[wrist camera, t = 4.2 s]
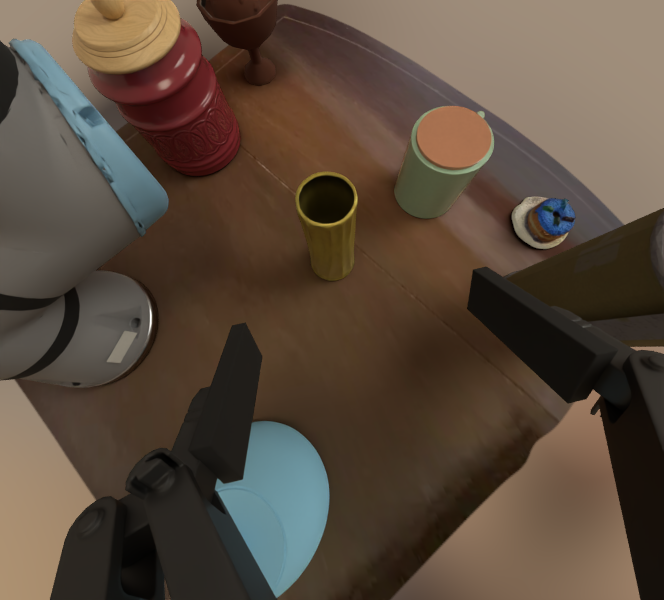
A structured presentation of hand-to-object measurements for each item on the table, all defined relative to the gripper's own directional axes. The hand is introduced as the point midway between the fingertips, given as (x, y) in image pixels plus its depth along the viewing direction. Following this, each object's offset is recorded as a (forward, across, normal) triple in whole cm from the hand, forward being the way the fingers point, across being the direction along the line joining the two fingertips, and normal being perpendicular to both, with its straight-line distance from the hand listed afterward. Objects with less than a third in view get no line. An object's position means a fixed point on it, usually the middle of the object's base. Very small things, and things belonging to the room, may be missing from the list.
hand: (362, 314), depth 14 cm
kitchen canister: (+38, -16, +12) cm, 42 cm away
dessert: (+19, +29, -7) cm, 36 cm away
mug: (+26, +17, +1) cm, 31 cm away
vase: (+20, 0, -5) cm, 21 cm away
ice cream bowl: (+46, -4, +20) cm, 50 cm away
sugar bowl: (+2, -14, -24) cm, 27 cm away
